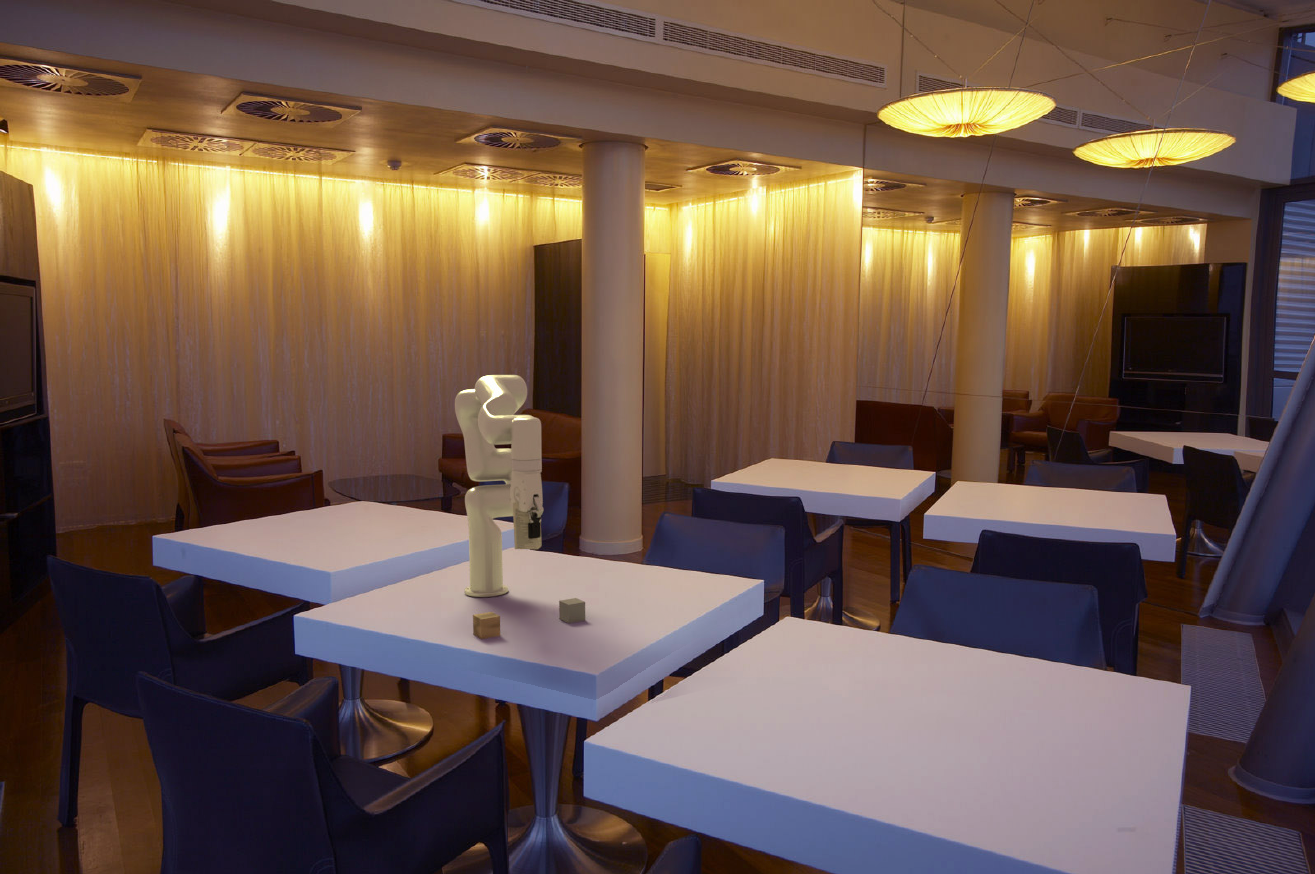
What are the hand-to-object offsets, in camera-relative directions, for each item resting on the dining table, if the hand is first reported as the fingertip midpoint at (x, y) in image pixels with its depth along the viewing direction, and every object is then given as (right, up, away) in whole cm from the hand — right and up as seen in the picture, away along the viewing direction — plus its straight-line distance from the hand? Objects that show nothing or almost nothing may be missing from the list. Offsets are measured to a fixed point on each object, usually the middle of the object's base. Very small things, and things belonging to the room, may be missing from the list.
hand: (527, 535), depth 229 cm
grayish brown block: (+11, -23, +8) cm, 27 cm away
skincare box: (0, -4, 0) cm, 4 cm away
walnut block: (-9, -24, -6) cm, 27 cm away
